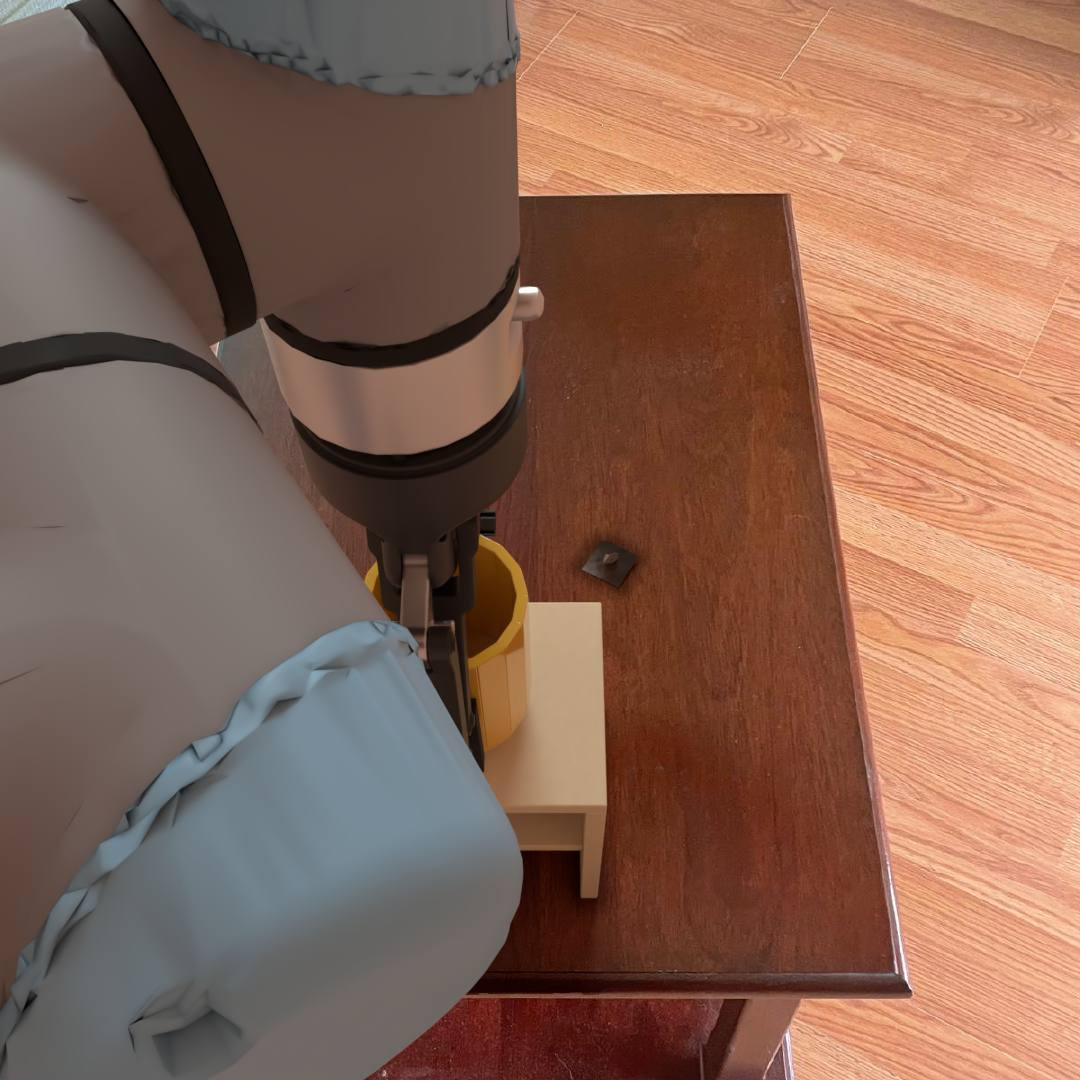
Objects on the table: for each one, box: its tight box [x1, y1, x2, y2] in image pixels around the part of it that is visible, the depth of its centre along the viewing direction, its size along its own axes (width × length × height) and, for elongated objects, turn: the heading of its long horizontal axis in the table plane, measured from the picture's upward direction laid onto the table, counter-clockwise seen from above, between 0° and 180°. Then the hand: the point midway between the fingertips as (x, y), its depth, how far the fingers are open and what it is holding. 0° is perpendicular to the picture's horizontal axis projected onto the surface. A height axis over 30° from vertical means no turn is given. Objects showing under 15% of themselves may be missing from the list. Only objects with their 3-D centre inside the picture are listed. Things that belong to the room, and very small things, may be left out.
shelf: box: [482, 601, 608, 899], centre depth 61 cm, size 14×11×16 cm
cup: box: [363, 535, 531, 752], centre depth 50 cm, size 7×7×9 cm
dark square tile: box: [581, 539, 639, 588], centre depth 77 cm, size 3×3×1 cm
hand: (459, 687), depth 54 cm, fingers closed on cup, 7 cm apart
